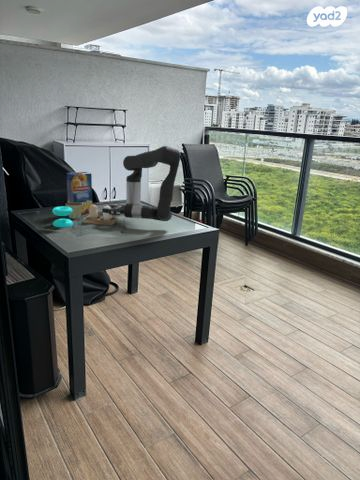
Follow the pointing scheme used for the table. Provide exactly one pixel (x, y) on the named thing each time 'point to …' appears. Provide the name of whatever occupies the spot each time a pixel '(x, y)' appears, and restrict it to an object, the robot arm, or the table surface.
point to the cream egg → (107, 215)
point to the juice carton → (80, 189)
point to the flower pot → (75, 209)
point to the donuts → (62, 212)
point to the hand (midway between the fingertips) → (105, 208)
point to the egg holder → (100, 220)
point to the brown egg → (93, 212)
